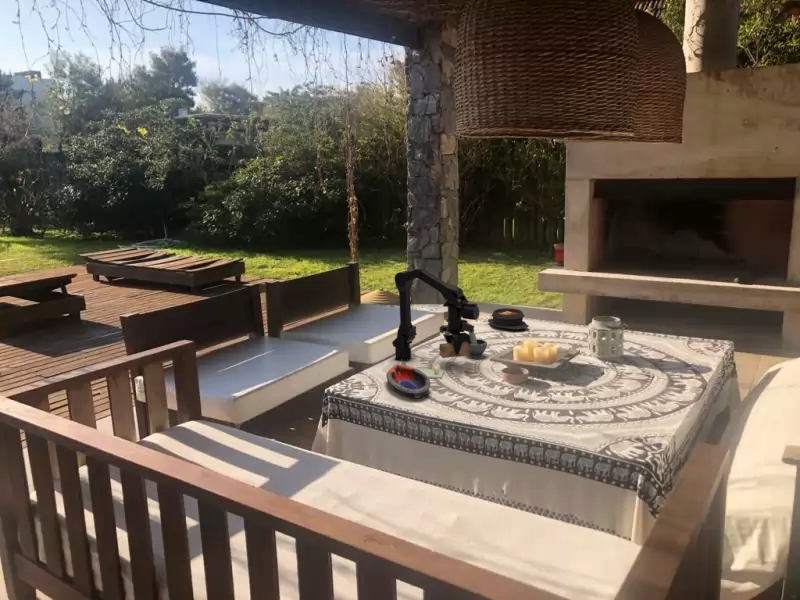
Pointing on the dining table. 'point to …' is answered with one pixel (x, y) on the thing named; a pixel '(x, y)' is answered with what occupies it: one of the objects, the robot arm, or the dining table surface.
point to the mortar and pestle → (476, 346)
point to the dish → (408, 381)
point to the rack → (431, 371)
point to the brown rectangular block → (449, 351)
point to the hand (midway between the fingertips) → (454, 352)
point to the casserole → (508, 319)
